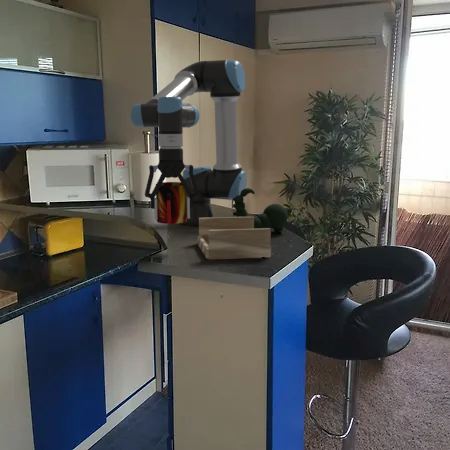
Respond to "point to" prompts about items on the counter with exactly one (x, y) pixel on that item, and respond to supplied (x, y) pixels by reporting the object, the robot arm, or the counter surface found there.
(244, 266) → the counter surface
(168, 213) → the mug
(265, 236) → the open wooden box
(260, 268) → the counter surface
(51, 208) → the counter surface
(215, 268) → the counter surface
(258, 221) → the toy figurine
